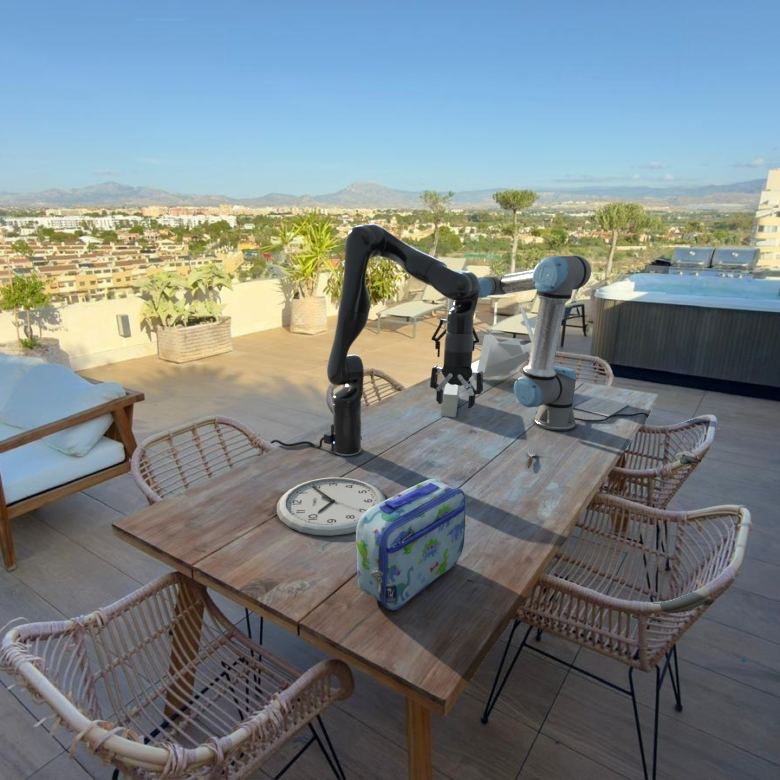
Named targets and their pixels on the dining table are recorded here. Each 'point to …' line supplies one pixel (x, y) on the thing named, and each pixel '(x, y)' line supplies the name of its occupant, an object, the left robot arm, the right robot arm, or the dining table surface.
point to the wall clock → (327, 505)
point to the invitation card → (601, 406)
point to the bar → (450, 400)
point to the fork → (531, 456)
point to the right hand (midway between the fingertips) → (454, 357)
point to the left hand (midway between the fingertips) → (455, 405)
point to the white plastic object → (502, 354)
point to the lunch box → (409, 541)
